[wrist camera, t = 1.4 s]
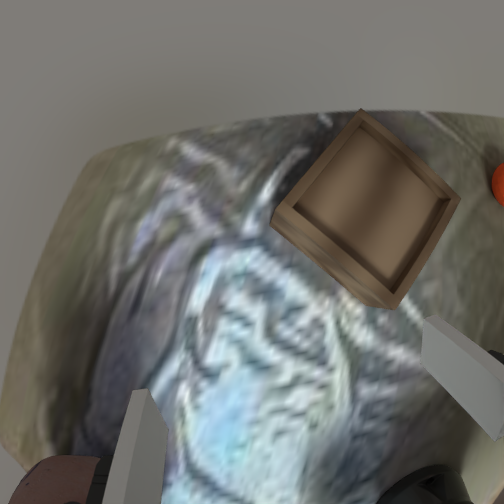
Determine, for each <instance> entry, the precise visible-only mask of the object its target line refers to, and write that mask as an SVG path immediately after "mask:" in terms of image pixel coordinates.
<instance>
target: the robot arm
mask: <svg viewBox="0 0 504 504" xmlns="http://www.w3.org/2000/svg"><path fill="white" fill-rule="evenodd" d="M420 364H421V365H422V366H423V367H424V368H425V369H426V370H427V371H428V372H429V373H430V374H431V375H432V376H433V377H434V378H435V379H436V380H437V381H438V382H439V383H440V384H441V385H442V386H443V387H444V388H445V389H446V390H447V391H448V392H449V394H450V395H451V396H452V397H453V398H454V399H455V400H456V401H457V402H458V403H459V404H460V405H461V406H462V407H463V408H464V409H465V410H466V411H467V412H468V413H469V415H470V416H471V417H472V418H473V419H474V420H475V421H476V422H477V423H478V424H479V425H480V426H481V427H482V428H483V430H484V431H485V432H486V433H487V434H488V435H489V436H490V437H491V438H492V439H493V440H494V442H495V441H497V440H498V439H500V438H501V437H502V436H504V355H502V354H501V353H498V352H496V351H493V350H490V351H488V352H486V351H485V350H484V349H482V348H481V347H480V346H478V345H477V344H476V343H474V342H473V341H472V340H470V339H469V338H468V337H466V336H465V335H464V334H462V333H461V332H460V331H458V330H457V329H456V328H454V327H453V326H451V325H450V324H449V323H447V322H446V321H445V320H443V319H442V318H440V317H439V316H438V315H436V314H435V315H432V316H429V317H427V318H424V323H423V338H422V350H421V361H420ZM168 430H169V429H168V428H167V426H166V424H165V422H164V420H163V418H162V416H161V414H160V412H159V410H158V408H157V406H156V404H155V402H154V400H153V398H152V396H151V393H150V391H149V389H148V388H147V389H139V390H133V391H132V395H131V398H130V401H129V404H128V408H127V411H126V414H125V418H124V421H123V425H122V428H121V432H120V435H119V439H118V442H117V446H116V450H115V453H114V455H112V456H103V457H102V458H101V459H100V461H99V462H98V463H97V464H96V467H95V471H94V474H93V475H94V476H93V478H92V481H91V483H92V484H91V485H90V488H89V492H88V495H87V499H86V503H85V504H161V496H162V485H163V474H164V465H165V456H166V447H167V438H168ZM64 504H81V503H79V502H75V501H70V502H67V503H64ZM377 504H474V503H473V502H471V500H470V497H469V494H468V492H467V489H466V487H465V484H464V482H463V479H462V477H461V476H460V475H459V474H458V473H457V472H456V471H455V470H454V469H452V468H451V467H449V466H447V465H433V466H428V467H425V468H422V469H420V470H418V471H416V472H414V473H412V474H410V475H408V476H407V477H405V478H403V479H402V480H401V481H399V482H398V483H397V484H395V485H394V486H393V487H392V488H391V489H389V490H388V491H387V492H386V493H385V494H384V496H383V497H382V498H381V499H380V500H379V502H378V503H377Z"/></svg>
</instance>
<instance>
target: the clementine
mask: <svg viewBox="0 0 504 504" xmlns="http://www.w3.org/2000/svg"><path fill="white" fill-rule="evenodd" d="M492 190H493V194H494V196H495V198H496V199H497V201H498V202H499V203H500V204H501V205H502V206H503V207H504V163H502V164H500V165H499V166H498V167H497V168H496V170H495V172H494V173H493V177H492Z"/></svg>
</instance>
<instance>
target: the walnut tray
mask: <svg viewBox="0 0 504 504" xmlns="http://www.w3.org/2000/svg"><path fill="white" fill-rule="evenodd" d="M460 200H461V198H460V197H459V196H458V195H457V194H456V193H455V192H454V191H453V190H452V189H451V188H450V187H449V186H448V185H447V183H446V182H445V181H444V180H443V179H442V178H441V177H440V176H439V175H437V174H436V173H435V172H434V171H433V170H432V169H431V168H430V167H429V166H428V165H427V164H426V163H425V162H424V161H423V160H422V159H421V158H420V157H419V156H417V155H416V154H415V153H414V152H413V151H412V150H411V149H410V148H409V147H407V146H406V145H405V144H404V143H403V142H402V141H401V140H399V139H398V138H397V137H396V136H395V135H394V134H392V133H391V132H390V131H389V130H388V129H386V128H385V127H384V126H383V125H382V124H380V123H379V122H378V121H377V120H375V119H374V118H373V117H372V116H370V115H369V114H368V113H366V112H365V111H364V110H363V109H359V111H358V112H357V113H356V114H355V115H354V116H353V118H352V119H351V120H350V121H349V122H348V123H347V125H346V126H345V127H344V128H343V129H342V131H341V132H340V133H339V134H338V135H337V136H336V138H335V139H334V140H333V141H332V142H331V144H330V145H329V146H328V147H327V148H326V149H325V151H324V152H323V153H322V154H321V155H320V157H319V158H318V159H317V160H316V161H315V162H314V164H313V165H312V166H311V167H310V168H309V170H308V171H307V172H306V173H305V174H304V176H303V177H302V178H301V179H300V180H299V181H298V183H297V184H296V185H295V186H294V187H293V189H292V190H291V191H290V192H289V193H288V195H287V196H286V197H285V198H284V199H283V201H282V202H281V203H280V204H279V205H278V207H277V208H276V209H275V211H274V214H273V217H272V220H271V222H270V226H271V227H272V228H273V229H275V230H276V231H277V232H278V233H279V234H281V235H282V236H283V237H284V238H286V239H287V240H288V241H289V242H291V243H292V244H293V245H294V246H295V247H297V248H298V249H299V250H300V251H301V252H303V253H304V254H305V255H306V256H308V257H309V258H310V259H311V260H312V261H314V262H315V263H316V264H317V265H318V266H320V267H321V268H322V269H323V270H324V271H326V272H327V273H328V274H329V275H330V276H332V277H333V278H334V279H335V280H336V281H338V282H339V283H340V284H341V285H342V286H343V287H345V288H346V289H347V290H348V291H349V292H351V293H352V294H353V295H354V296H355V297H356V298H358V299H359V300H360V301H361V302H362V303H363V304H365V305H366V306H371V307H377V308H383V309H390V310H395V309H396V308H397V307H398V305H399V304H400V302H401V301H402V299H403V298H404V296H405V295H406V293H407V292H408V290H409V289H410V287H411V285H412V284H413V282H414V281H415V279H416V278H417V276H418V274H419V273H420V271H421V270H422V268H423V266H424V265H425V263H426V261H427V260H428V258H429V256H430V255H431V253H432V251H433V250H434V248H435V246H436V244H437V243H438V241H439V239H440V237H441V236H442V234H443V232H444V230H445V228H446V226H447V225H448V223H449V221H450V219H451V217H452V215H453V213H454V211H455V209H456V208H457V206H458V204H459V202H460Z"/></svg>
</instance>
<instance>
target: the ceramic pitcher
mask: <svg viewBox="0 0 504 504" xmlns="http://www.w3.org/2000/svg"><path fill="white" fill-rule="evenodd" d="M100 459H101V458H97V457H93V456H80V455H56V456H51V457H48V458H46V459H43V460H42V461H40V462H39V463H37V464H36V465H35V466H33V467H32V468H31V469H30V470H29V471H28V473H27V474H26V475H25V476H24V478H23V479H22V480H21V481H20V483H19V485H18V486H17V488H16V490H15V491H14V493H13V495H12V497H11V499H10V501H9V503H8V504H64V503H67V502H70V501H75V502H79V503H81V504H85V503H86V499H87V495H88V492H89V488H90V485H91V484H92V483H91V481H92V478H93V476H94V475H93V474H94V471H95V467H96V464H97V463H98V462H99V461H100Z"/></svg>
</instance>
